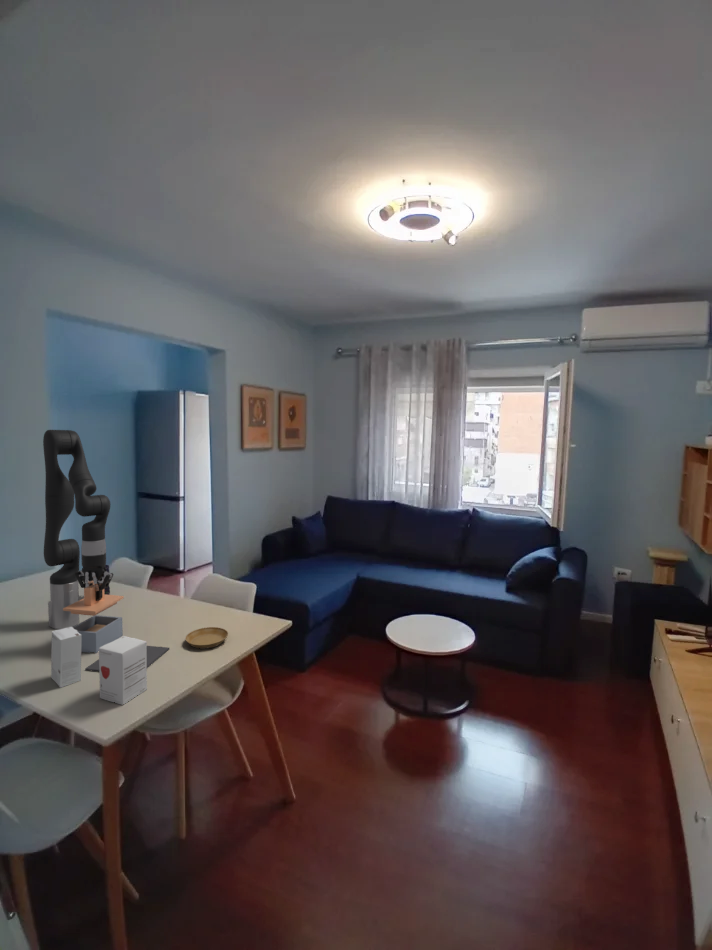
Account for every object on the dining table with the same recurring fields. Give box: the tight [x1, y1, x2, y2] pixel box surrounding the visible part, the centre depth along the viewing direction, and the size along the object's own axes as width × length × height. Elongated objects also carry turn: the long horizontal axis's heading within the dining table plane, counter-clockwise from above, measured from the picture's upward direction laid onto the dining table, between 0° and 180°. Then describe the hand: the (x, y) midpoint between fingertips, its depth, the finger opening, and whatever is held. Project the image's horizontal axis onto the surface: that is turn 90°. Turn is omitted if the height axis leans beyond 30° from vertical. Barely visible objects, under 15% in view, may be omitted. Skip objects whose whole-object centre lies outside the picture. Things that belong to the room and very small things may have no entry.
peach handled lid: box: [63, 584, 125, 617], centre depth 163 cm, size 15×12×8 cm
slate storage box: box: [73, 614, 124, 654], centre depth 164 cm, size 14×11×7 cm
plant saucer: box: [184, 626, 229, 650], centre depth 167 cm, size 15×15×3 cm
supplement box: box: [98, 635, 148, 706], centre depth 132 cm, size 9×9×15 cm
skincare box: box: [50, 626, 82, 688], centre depth 139 cm, size 8×6×15 cm
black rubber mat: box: [85, 645, 170, 672], centre depth 152 cm, size 18×18×1 cm
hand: (94, 599), depth 163 cm, fingers closed on peach handled lid, 2 cm apart
